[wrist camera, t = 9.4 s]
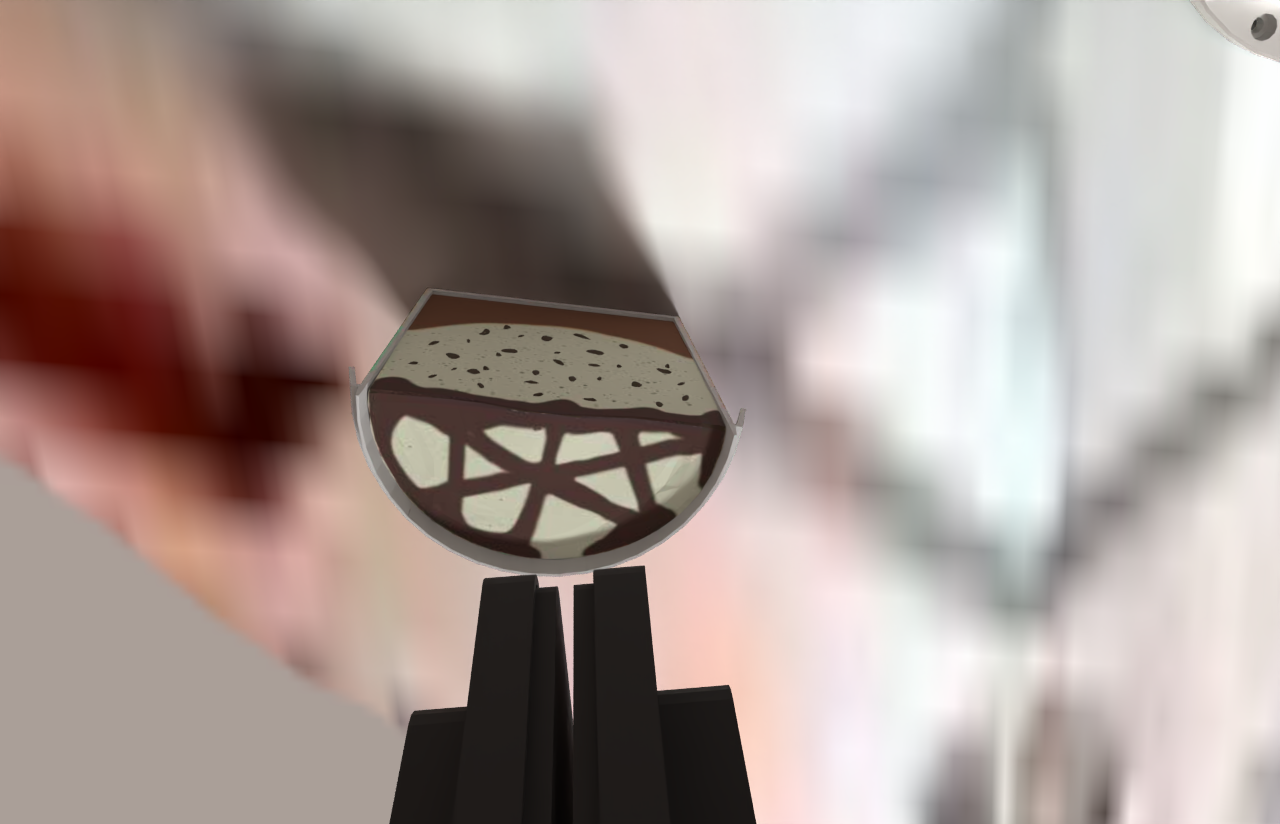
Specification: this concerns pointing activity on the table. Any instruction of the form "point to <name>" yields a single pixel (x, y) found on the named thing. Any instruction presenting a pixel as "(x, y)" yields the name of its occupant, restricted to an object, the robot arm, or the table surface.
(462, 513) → the food container
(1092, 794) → the table surface
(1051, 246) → the table surface
